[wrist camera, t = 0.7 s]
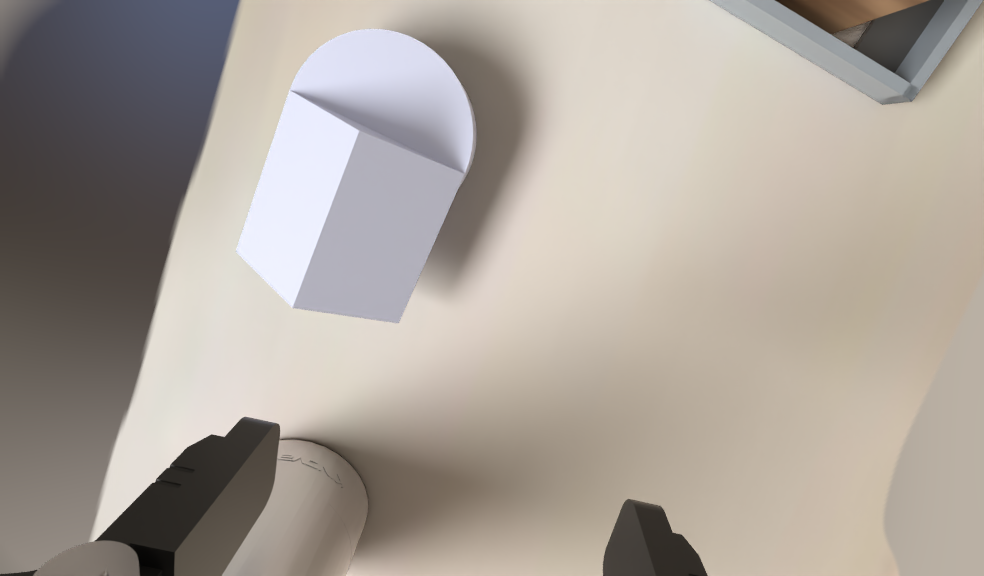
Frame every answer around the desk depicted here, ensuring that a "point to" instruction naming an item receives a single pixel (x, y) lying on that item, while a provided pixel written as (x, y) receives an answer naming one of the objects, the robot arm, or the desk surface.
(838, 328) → the desk surface
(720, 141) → the desk surface
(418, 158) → the wedge on round base
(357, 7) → the desk surface
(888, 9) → the walnut block
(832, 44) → the grey open-top box
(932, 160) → the desk surface
